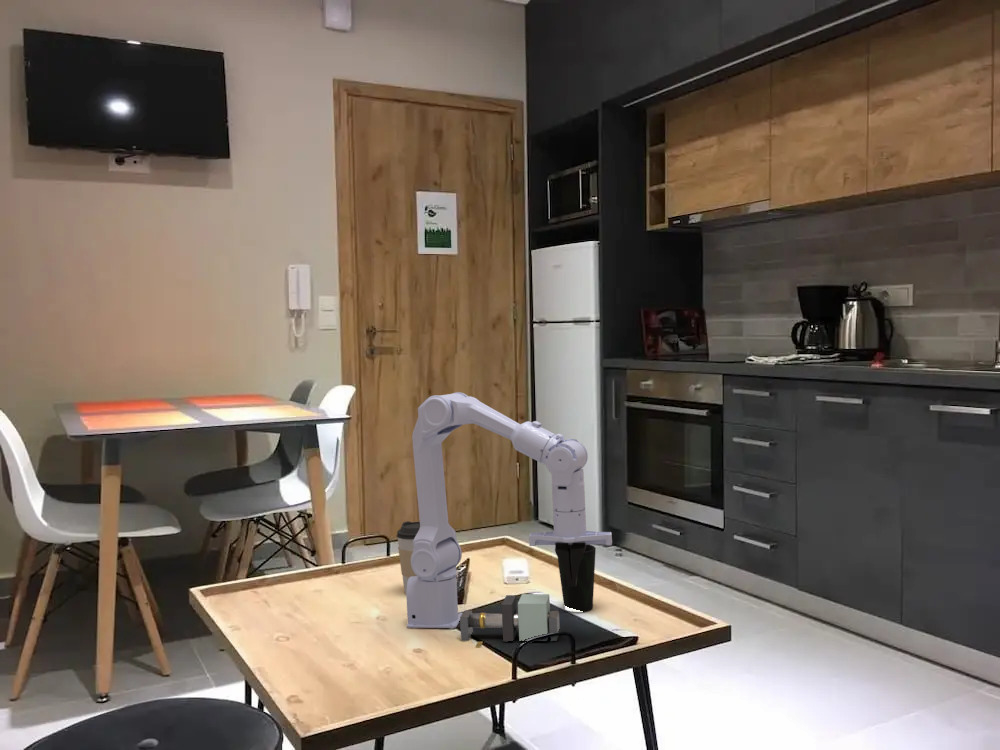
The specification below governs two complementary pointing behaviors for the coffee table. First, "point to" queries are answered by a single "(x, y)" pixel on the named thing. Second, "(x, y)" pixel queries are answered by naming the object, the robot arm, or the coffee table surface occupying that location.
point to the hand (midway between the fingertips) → (572, 585)
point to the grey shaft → (496, 622)
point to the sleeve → (533, 615)
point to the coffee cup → (407, 548)
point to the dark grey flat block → (509, 617)
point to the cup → (580, 583)
